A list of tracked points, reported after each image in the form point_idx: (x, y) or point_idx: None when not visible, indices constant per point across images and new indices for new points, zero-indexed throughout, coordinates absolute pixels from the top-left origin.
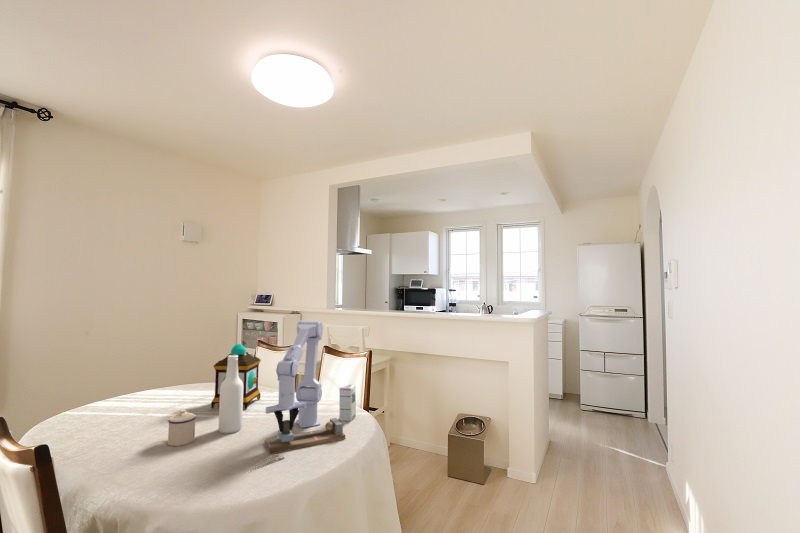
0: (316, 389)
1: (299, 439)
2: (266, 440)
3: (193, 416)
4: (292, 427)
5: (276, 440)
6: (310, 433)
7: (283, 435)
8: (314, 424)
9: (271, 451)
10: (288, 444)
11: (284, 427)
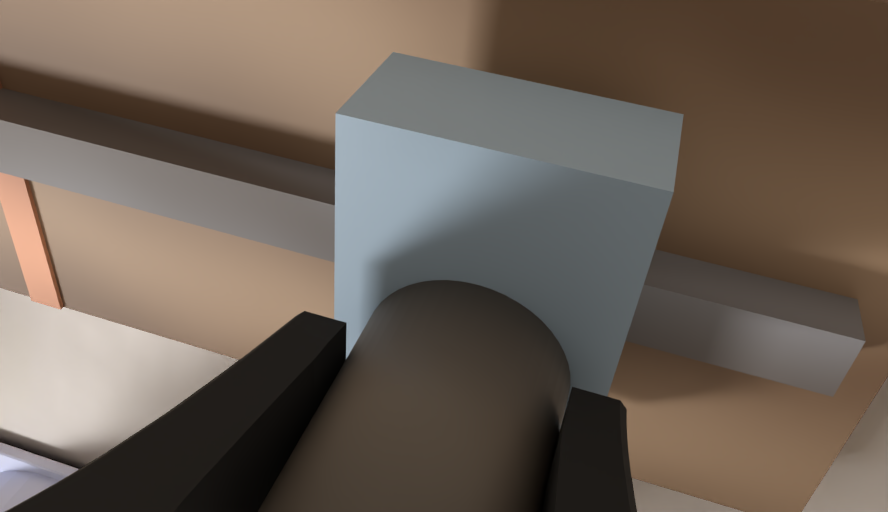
0: None
1: (252, 131)
2: (796, 486)
3: None
4: (263, 346)
5: (719, 310)
6: (10, 159)
7: (598, 247)
8: (10, 461)
9: None
10: (535, 37)
11: (491, 450)
